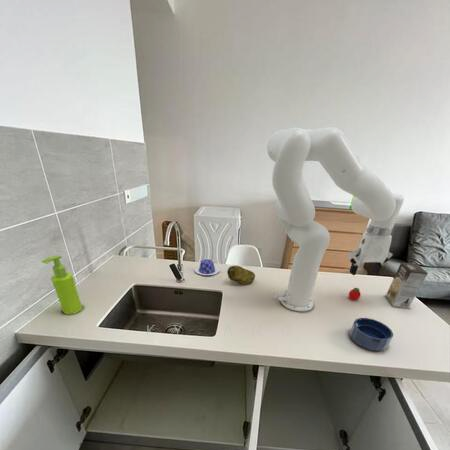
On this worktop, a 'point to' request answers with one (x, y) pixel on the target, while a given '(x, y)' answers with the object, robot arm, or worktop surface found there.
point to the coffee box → (406, 284)
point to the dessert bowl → (371, 334)
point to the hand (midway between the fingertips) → (363, 273)
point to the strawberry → (354, 294)
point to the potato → (240, 275)
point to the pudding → (206, 268)
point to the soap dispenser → (64, 286)
